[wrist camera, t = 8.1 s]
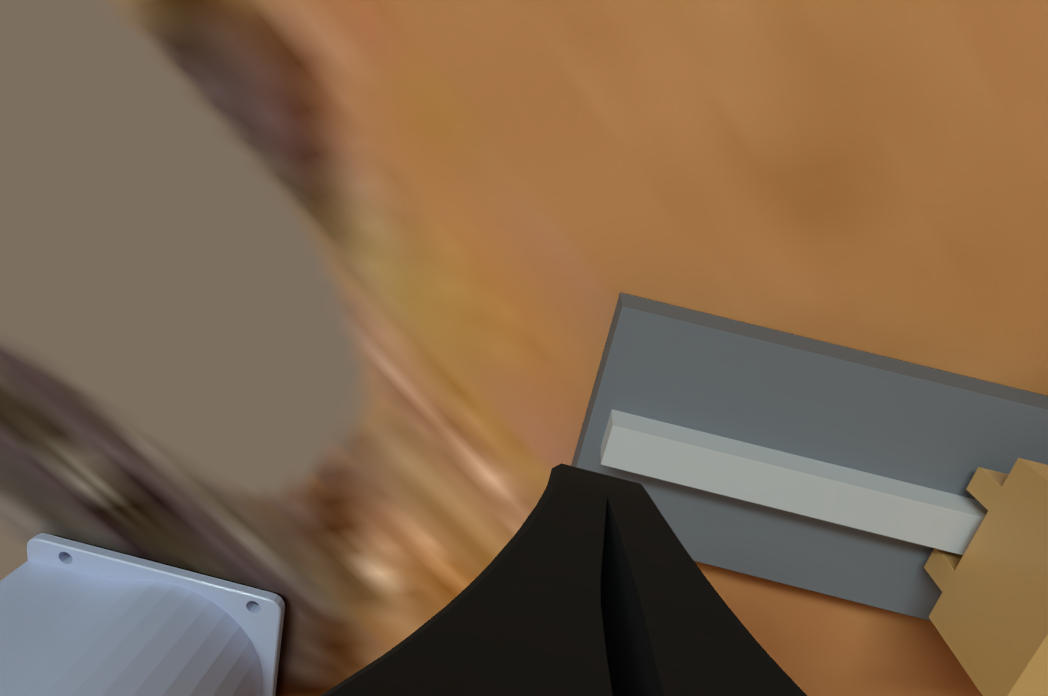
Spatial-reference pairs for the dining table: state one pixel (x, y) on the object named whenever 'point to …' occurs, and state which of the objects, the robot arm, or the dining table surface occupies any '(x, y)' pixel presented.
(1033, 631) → the sliding carriage
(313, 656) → the dining table surface
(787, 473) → the track
